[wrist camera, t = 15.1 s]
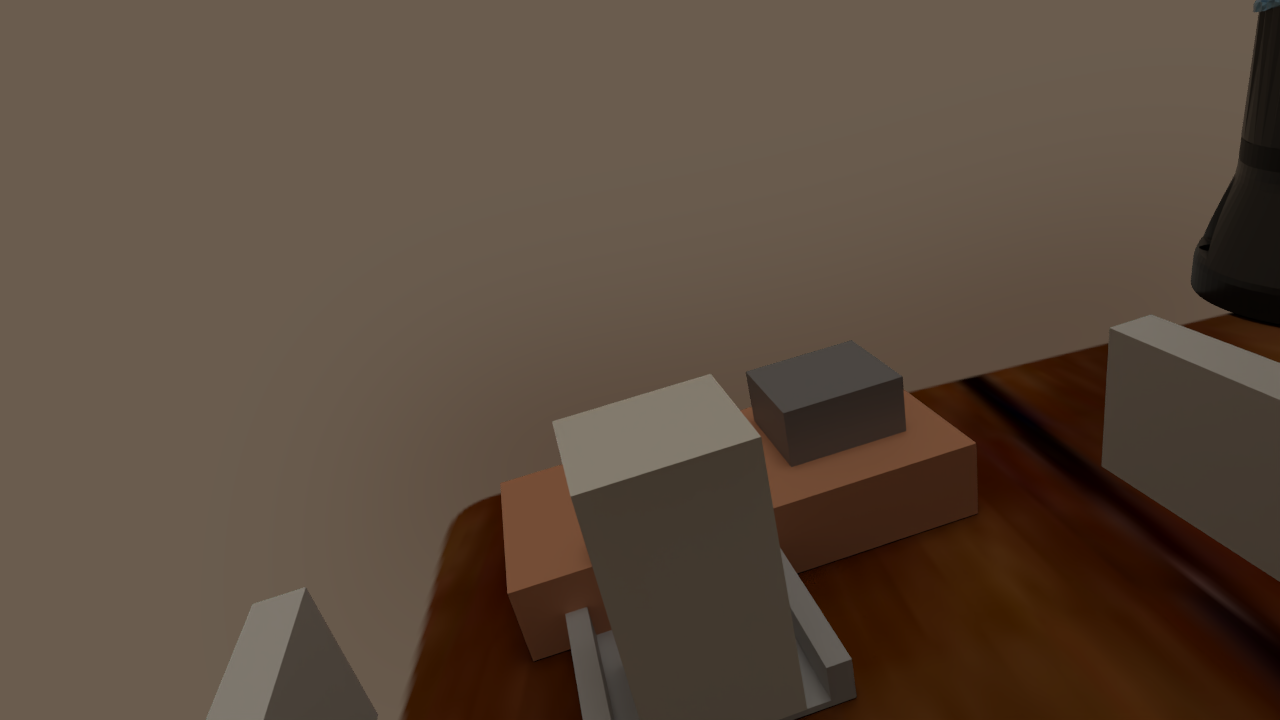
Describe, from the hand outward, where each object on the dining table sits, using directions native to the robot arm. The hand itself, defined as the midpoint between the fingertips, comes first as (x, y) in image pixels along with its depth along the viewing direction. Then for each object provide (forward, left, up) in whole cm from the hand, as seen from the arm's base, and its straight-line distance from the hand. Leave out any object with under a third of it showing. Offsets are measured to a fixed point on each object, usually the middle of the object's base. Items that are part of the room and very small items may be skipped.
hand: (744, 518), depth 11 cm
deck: (-4, -17, -17) cm, 24 cm away
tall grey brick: (0, -12, -16) cm, 20 cm away
